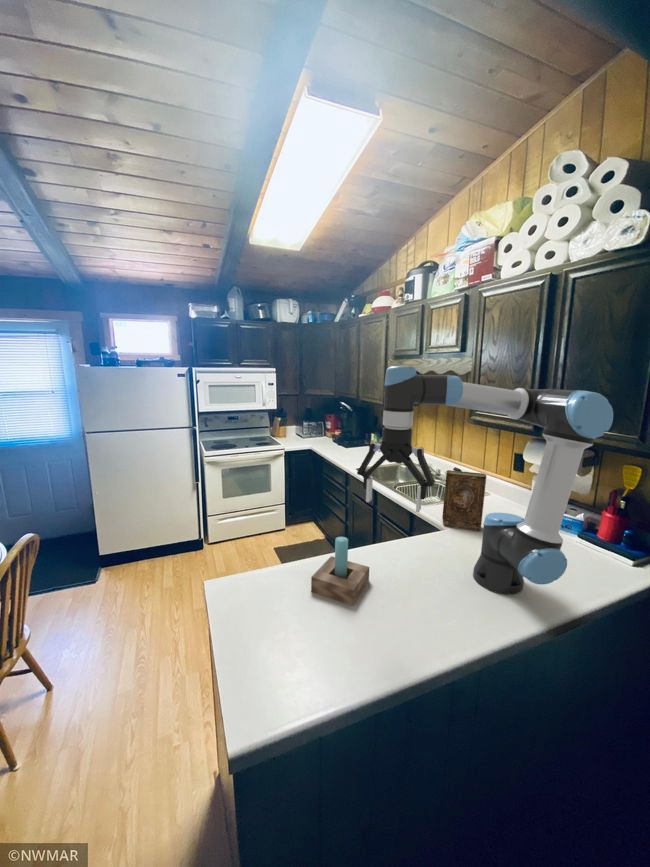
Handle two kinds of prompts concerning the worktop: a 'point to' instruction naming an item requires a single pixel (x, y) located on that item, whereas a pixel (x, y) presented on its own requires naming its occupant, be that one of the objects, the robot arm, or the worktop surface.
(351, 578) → the socket block
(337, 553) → the peg
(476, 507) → the book
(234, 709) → the worktop surface
